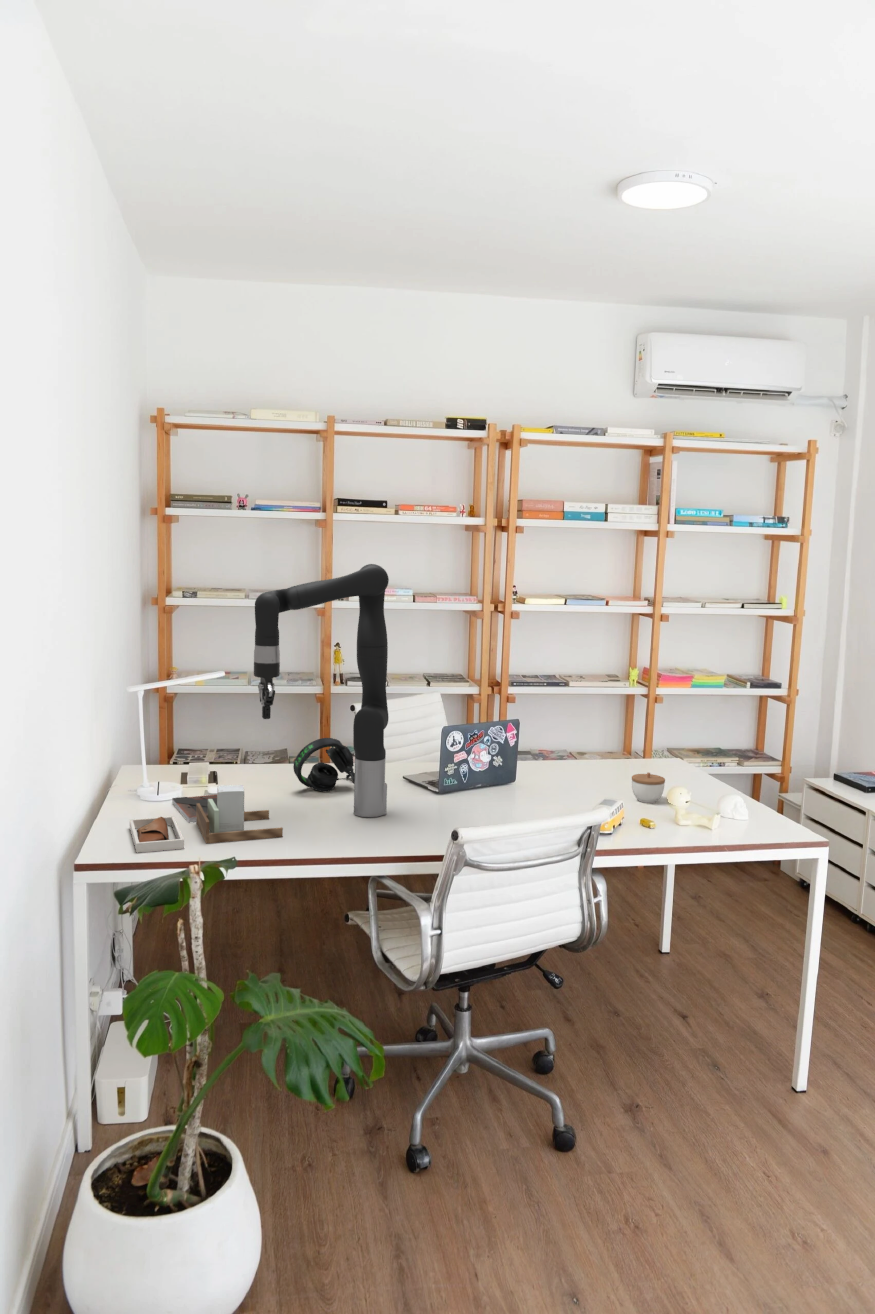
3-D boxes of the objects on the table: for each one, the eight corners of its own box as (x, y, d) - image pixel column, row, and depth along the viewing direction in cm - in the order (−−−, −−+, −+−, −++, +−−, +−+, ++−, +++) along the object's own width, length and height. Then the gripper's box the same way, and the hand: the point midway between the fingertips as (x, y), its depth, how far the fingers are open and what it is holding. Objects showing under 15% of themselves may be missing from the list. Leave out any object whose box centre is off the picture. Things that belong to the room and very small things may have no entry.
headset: (348, 809, 326) (289, 782, 306) (332, 784, 336) (274, 756, 315) (383, 771, 324) (326, 741, 304) (366, 746, 334) (309, 716, 313)
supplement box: (244, 835, 268) (244, 791, 266) (216, 836, 266) (217, 791, 264) (243, 827, 275) (243, 784, 273) (216, 828, 273) (217, 784, 272)
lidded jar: (636, 794, 325) (638, 767, 324) (667, 799, 320) (669, 772, 319) (625, 801, 316) (627, 773, 315) (657, 806, 311) (659, 778, 310)
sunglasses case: (134, 829, 270) (147, 808, 270) (157, 839, 272) (169, 819, 272) (136, 849, 253) (149, 827, 253) (160, 861, 255) (173, 839, 255)
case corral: (174, 824, 275) (174, 816, 275) (184, 848, 255) (184, 839, 254) (129, 828, 270) (129, 819, 270) (136, 852, 250) (136, 843, 250)
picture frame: (172, 805, 296) (188, 825, 277) (172, 797, 296) (189, 816, 277) (225, 800, 304) (245, 819, 285) (225, 792, 304) (245, 811, 285)
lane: (268, 818, 284) (268, 798, 284) (282, 836, 267) (282, 815, 267) (196, 823, 277) (196, 803, 276) (206, 843, 260) (206, 821, 259)
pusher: (211, 825, 275) (212, 798, 274) (218, 838, 264) (218, 810, 263) (207, 826, 275) (207, 799, 274) (214, 838, 264) (214, 810, 263)
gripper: (284, 663, 278) (283, 722, 280) (274, 657, 290) (273, 714, 293) (258, 663, 276) (258, 723, 278) (249, 657, 288) (249, 715, 290)
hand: (266, 718), depth 285 cm, fingers closed
